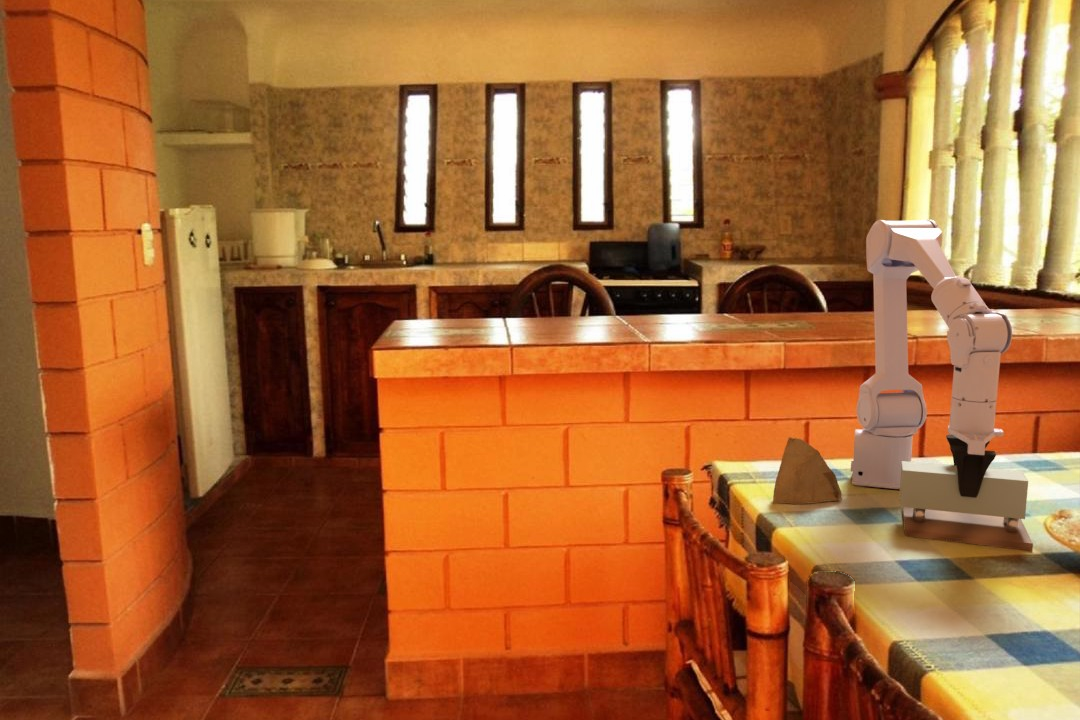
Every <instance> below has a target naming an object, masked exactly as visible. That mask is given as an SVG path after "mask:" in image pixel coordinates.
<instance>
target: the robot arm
mask: <svg viewBox="0 0 1080 720" xmlns="http://www.w3.org/2000/svg"><path fill="white" fill-rule="evenodd" d="M865 244H866V245H865V248H866V249H865V250H866V267H867V268H866V269H867V272H869V273H870V274H873V309H874V311H873V313H874V315H873V316H874V351H875V353H874V356H875V357H874V359H875V360H874V361H875V362H874V363H875V364H874V365H875V373H874V374H873V375H872V376H870V377H869V378H868V379H867V380H866V381H864V382H863V383H862V384H861V385H860V386H859V391H858V393H859V395H858V400H857V404H856V418H857V420H858V422H859V424H860V426H861V427H862V429H860V428H857V429H856V428H855V429H854V443H853V444H854V445H853V460H851V461H850V472H852V477H851V478H852V480H851V484H852V485H853V486H863V487H872V488H881V489H882V488H883V489H892V490H893V489H894V490H900V478H901V462H902V461H908V462H912V456H913V455H912V453H913V441H914V440H913V439H914V435H917V434H918V430H919V429H921V428H922V426H923V425H924V423H925V422H926V419H927V416H928V410H927V409H928V408H927V407H928V406H927V403H926V401H925V397H924V391H923V390H924V389H923V385H922V384H921V382H919V381H918V380H916V378H914V377H913V376H912V375H911V374H909V350H908V349H909V348H908V347H909V343H908V341H909V339H908V301H907V299H908V298H907V280H908V279H909V277H910V276H911V275H912V274H913V273H915V272H918V271H919V272H920V274H921V275H922V276H923V277H924V278H925V280H926V281H927V283H928V284H929V285H930V286H931V287H932V289H933V290H932V293H931V296H930V297H931V302H932V303H933V305H934V306H935V308H936V310H937V311H938V313H939V315H940V316H941V317H942V319H943V321H944V323H945V324H946V327H948V330H947V331H946V338H947V344H948V347H949V350H950V359H949V360H950V361H951V362H950V363H951V365H953V377H952V388H951V398H950V399H951V402H950V412H949V413H950V415H949V425H948V426H947V433H949V434H947V435H945V438H946V440H947V442H948V444H949V449H950V452H951V455H952V460H953V465H956V466H957V473H958V485H959V492H960V495H961V496H963V497H973V498H977V495H978V493H979V490H980V487H981V484H982V481H983V478H984V475H985V473H986V470H987V469H988V468H990V465H991V464H992V462H993V461H994V460H995V458H996V456H997V453H996V451H995V450H986V449H987V447H988V445H989V444H990V442H991V440H992V439H993V438H996V437H1000V438H1001V437H1003V436H1004V430H1003V429H1001V428H995V423H996V411H997V410H996V409H997V399H998V390H999V389H998V388H999V379H1000V378H999V376H1000V367H1001V354H1002V355H1003V354H1004V353H1006V352H1007V351H1008V350H1009V348H1010V347H1011V343H1012V341H1013V328H1012V324H1011V322H1010V320H1009V318H1008V316H1007V315H1006V313H1004V312H1000V311H995V309H994V308H991V309H990V308H989V307H988V306H987V305H986V303H985V301H984V300H983V298H982V297H981V295H980V294H979V293H978V291H977V290H976V288H975V287H974V285H972V282H971V281H970V279H969V278H966V277H962V276H957V275H956V274H955V272H954V269H953V268H952V266H951V263H950V262H949V260H948V258H947V256H946V255H945V252H944V251H943V249H942V245H943V232H942V230H941V228H940V227H939V225H938V224H937V222H936V221H935V220H933V219H925V220H884V219H879V220H876V221H875V222H874V223H873V224H872V225H871V226H870V229H869V232H868V233H867V235H866V240H865ZM884 391H901V392H884Z"/></svg>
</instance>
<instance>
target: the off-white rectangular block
mask: <svg viewBox="0 0 1080 720" xmlns="http://www.w3.org/2000/svg"><path fill="white" fill-rule="evenodd" d="M1028 487H1029V480H1028V478H1027V477H1026V475H1025V473H1024V471H1022V470H1014V469H1003V468H1002V469H1001V468H990V467H988V469H987V470H986V473H985V475H984V478H983V481H982V484H981V487H980V490H979V493H978V495H977V498H973V497H963V496H961V495H960V492H959V485H958V473H957V466H956V465H954V464H943V463H931V462H930V463H929V462H919V461H911V462H908V461H902V462H901V478H900V489H899V504H900V506H899V507H900V508H903V507H908V508H918V509H928V510H938V511H948V512H958V513H968V514H978V515H988V516H998V517H1008V518H1018V519H1021V520H1025V519H1026V510H1027V500H1028V499H1027V498H1028V491H1029V490H1028Z"/></svg>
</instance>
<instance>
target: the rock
mask: <svg viewBox="0 0 1080 720" xmlns="http://www.w3.org/2000/svg"><path fill="white" fill-rule="evenodd" d="M835 501H836V502H837V501H843V497H842V490H841V488H840V485H839V483H838V479H837V476H836V474H835V473H834V471H833V470H832V469H831V468H830V467H829V466H828V464H827V462H826V461H825V459H824V458H823V456H822V455H821V453H820V452H819V450H817V449H816V448H815V447H813V446H812V445H811V444H809V443H807V441H806V440H804V439H802V438H797V437H788V439H787V442H786V445H785V447H784V451H783V454H782V458H781V462H780V465H779V469H778V472H777V476H776V479H775V482H774V489H773V496H772V504H774V505H777V504H792V505H801V504H803V505H805V504H815V503H825V502H835Z"/></svg>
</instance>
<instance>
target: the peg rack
mask: <svg viewBox="0 0 1080 720" xmlns="http://www.w3.org/2000/svg"><path fill="white" fill-rule="evenodd" d="M901 509H902V510H901V511H902V521H903V530H904V537H913V538H920V539H928V540H929V539H930V540H940V541H947V542H956V543H963V544H971V545H972V544H973V545H982V546H989V547H990V546H991V547H999V548H1005V549H1006V548H1007V549H1016V550H1017V549H1018V550H1026V551H1033V548H1034V547H1033V546H1034V544H1033V541H1032V539H1031V537H1030V534H1029V533H1028V531H1027V529H1026V527H1025V524H1024V523H1023V521H1022V520H1023V519H1018V518H1008V517H998V516H988V515H978V514H968V513H958V512H948V511H938V510H928V509H918V508H908V507H901Z"/></svg>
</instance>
